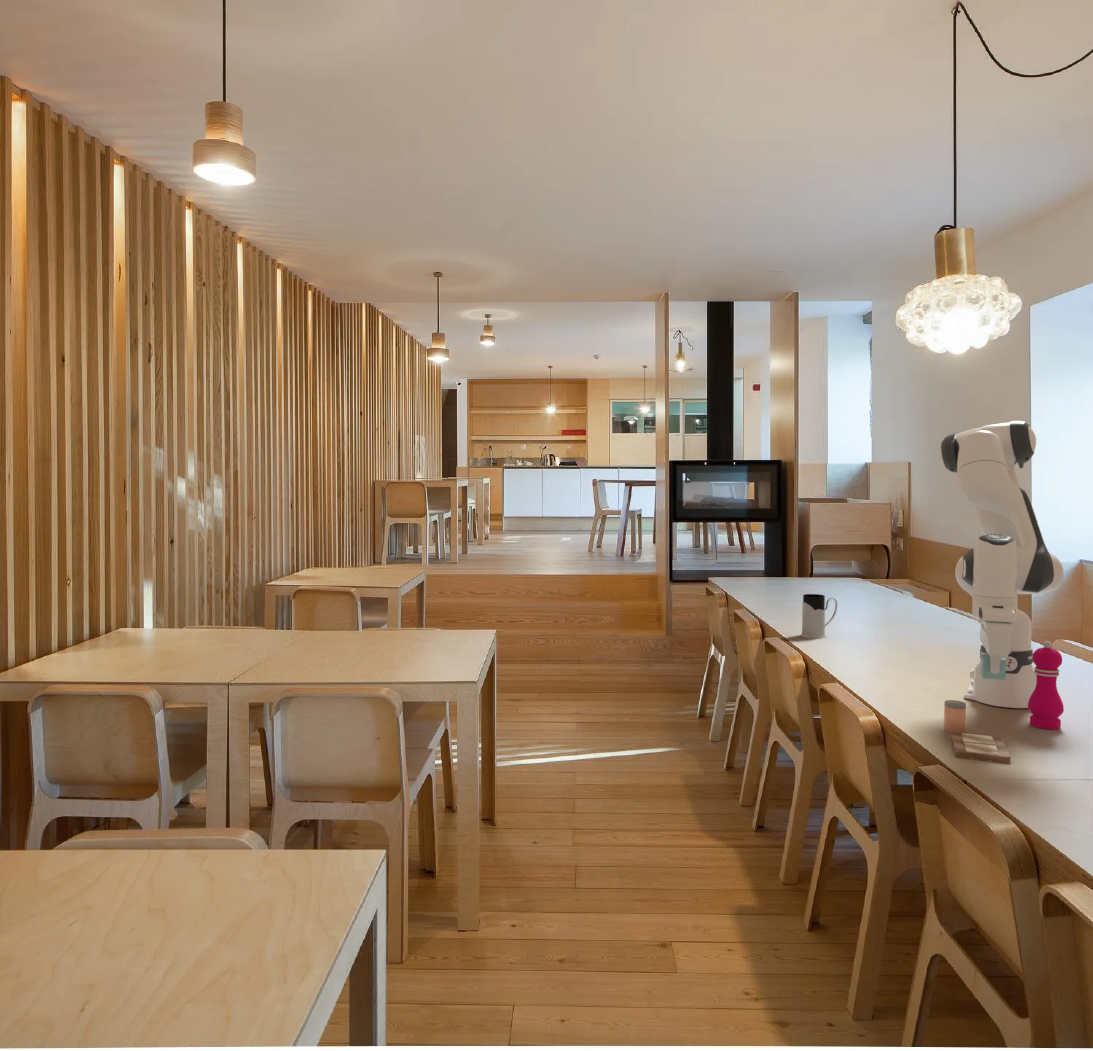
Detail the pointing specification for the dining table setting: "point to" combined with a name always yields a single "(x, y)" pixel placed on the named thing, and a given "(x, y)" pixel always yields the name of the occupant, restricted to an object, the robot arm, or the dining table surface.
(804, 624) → the glass holder
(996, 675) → the teal block
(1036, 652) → the pepper mill
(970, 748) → the board
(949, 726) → the peach upright cylinder
